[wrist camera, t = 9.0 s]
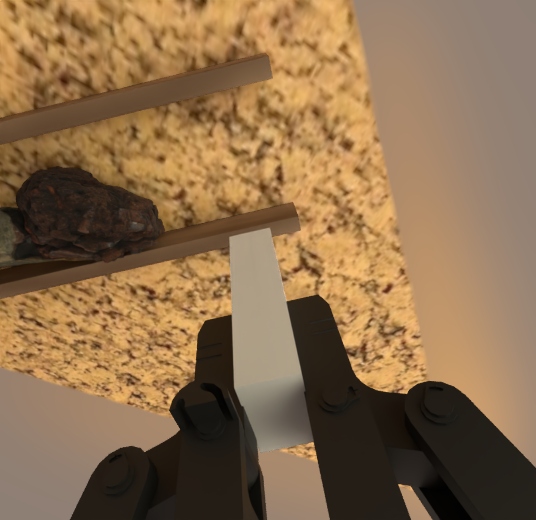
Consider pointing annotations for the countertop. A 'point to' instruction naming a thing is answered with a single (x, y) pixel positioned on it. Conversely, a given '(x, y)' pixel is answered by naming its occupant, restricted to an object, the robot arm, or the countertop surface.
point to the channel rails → (123, 103)
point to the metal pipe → (75, 220)
